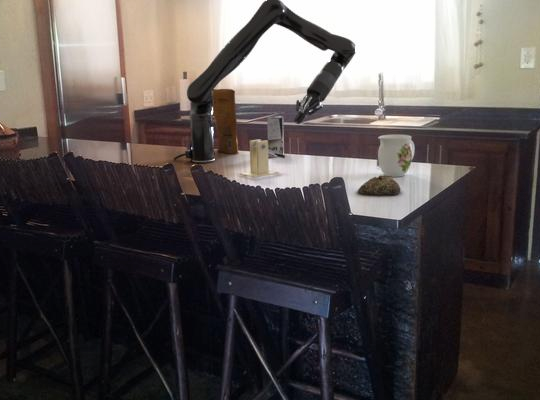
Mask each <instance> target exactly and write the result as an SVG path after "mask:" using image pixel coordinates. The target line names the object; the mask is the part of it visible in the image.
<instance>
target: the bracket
mask: <svg viewBox="0 0 540 400" xmlns="http://www.w3.org/2000/svg"><path fill="white" fill-rule="evenodd" d="M255 141H259V142H256V147H257V149H256V148H254V147H253V146H254V143H255ZM249 164H250V165H249V166H250V167H249V169H250V171H243V172H240V173H239V174H240V175H243V176H247V177H251V178H259V177H264V176H269V175H276V174H279V173H280V172H279V171H276V170H272V169H269V166H270V165H269V157H268V139H267V140H262V139H253V140H249Z"/></svg>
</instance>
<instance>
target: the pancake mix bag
mask: <svg viewBox="0 0 540 400" xmlns="http://www.w3.org/2000/svg"><path fill="white" fill-rule="evenodd" d="M236 109H237V108H236V91H235V90H234V89H232V88H214V89H213V118H214V119H213V120H214V122H215V127H216V133H217V142H218V146H217V152H220V153H225V154H228V155H236V154H239V146H238V133H237V130H238V129H237V128H238V127H237V125H238V124H237V123H238V122H237V110H236Z"/></svg>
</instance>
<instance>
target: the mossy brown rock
mask: <svg viewBox="0 0 540 400" xmlns="http://www.w3.org/2000/svg"><path fill="white" fill-rule="evenodd" d="M401 189H402V188H401V187H400V184H399V183H398V182H397V181H396V180H395V179H393V178H392V177H390V176H386V175H378V177H376V176H373V177H371V178H370V179H369V180H367V181H365V182H364V183H363V184H362V185H360V187H359V188H358V189H357V193H358V194H360V195H368V196H396V195H399V193H401Z"/></svg>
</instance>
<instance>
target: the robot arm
mask: <svg viewBox="0 0 540 400" xmlns="http://www.w3.org/2000/svg"><path fill="white" fill-rule="evenodd" d="M274 25H277V26H280V27H282V28H284V29H287V30H288V31H291V32H292V33H293V34H295V35H297V36H298V37H300V38H301V39H302V40H304V41H305V42H307V43H309V45H312V46H314V47H315V48H317V49H319V50H320V51H323V52H326V51H327V50H330V51H332V52H333V53H332V55H331V57H330V58H329V60H328V61H327V62H326V63H325V64H324V66H322V68H321V70H320V71H319V73H318V74H317V75H316V76H315V77H314V79H313V80H312V81H311V83H310V84H309V86H308V87H307V89H306V94H305V96H303V98H302V99H301V100H299V99H297V100H296V102H295V112H297V114H296V116H295V117H294V119H293V121H294V123H295V124H296V125H300V124H301V123H302V122H303V121H304V119H305V118H306V117H308V116H309V117H311V116H312V115H314V114H315V113H316V112H318V111H319V110H321V109H323V106H324V105H323V104H322V103H323V102H324V101H325V100H326V98H327V97H328V96H329V94H330V93H331V91H332V90H333V88H334V86H335V84H336V83H337V81H338V80H339V78H340V77H341V76H342V74H343V71H344V70H345V69H346V68H347V67H348V65H349V64H350V62H351V61H352V60H353V58H354V56H355V55H356V53H357V46H356V44H355V42H354V41H352V39H350V38H347V37H345V36H341V35H338V34H335V33H331V32H330V31H328V30H327V29H325V28H323V27H322V26H320V25H317V24H316V23H313V22H312V21H310V20H308V19H306V18H304V17H301V16H300V15H299V14H297V13H295V12H294V11H293V10H291V9H290V8H289V7H288V6H287V5H285V4H284V2H283V1H282V0H264V1H263V2H262V3H261V5H260V6H259V7H258V9H257V10H256V12H255V13H254V14H253V16H252V17H251V18H250V19H249V21H248V22H247V23H246V24H245V25H244V26H243V27H242V28H241V29H240V30H239V31H238V32H237V33H236V34H235V35H233V37H231V38H230V40H229V41H228V42H227V43H226V44H225V45H224V46H223V48H222V49H221V50H220V51H219V52H218V54H217V55H216V56H215V57H214V58H213V60H212V61H211V62H210V64H209V65H208V67H206V69H205V70H204V71H202V72H201V74H199V76H197V77H196V78H195V79H194V80H193V81H192V82H191V83H190V84H189V85H188V86H187V89H186V96H187V99H188V101H189V102H190V103H191V104H190V105H191V107H190V108H191V109H190V113H189V123H190V126H189V127H190V138H189V140H188V141H189V149H187V150H185V151H184V153H180V154H178V155H176V156H175V157H173V160H174V161H176V160H178V159H180V158H181V157H185V159H189V161H190V162H192V163H195V164H205V163H206V164H207V163H212V162H215V161H216V158H215V156H216V152H215V139H214V119H213V118H214V114H213V89H216V87H217V86H218V85H219V83H220V82H221V81H223V80H224V79H225V78H226V77H227V76H229V75H230V74H231V73H233V72H234V71H235V70H236V69H237V68H238V67H240V65H241V64H242V62H244V61H245V60H246V59H247V57H248V56H249V55H250V54H251V52H252V51H253V50H254V49H255V46H257V43H258V42H259V40H260V39H261V38H262V36H263V35H264V34H265V33H266V32H267V31H268V30H269V29H271V28H272V27H273V26H274Z"/></svg>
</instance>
